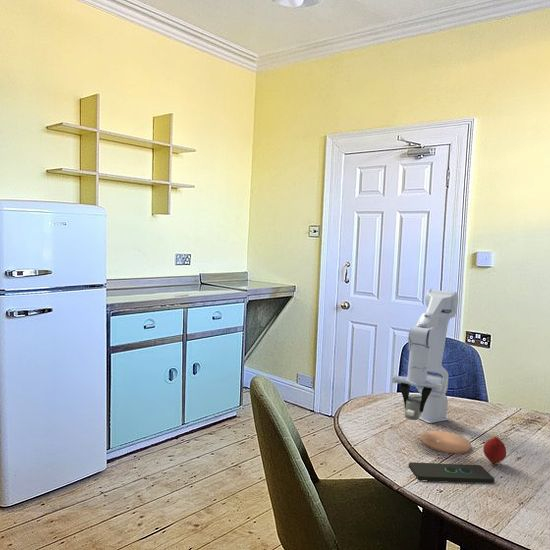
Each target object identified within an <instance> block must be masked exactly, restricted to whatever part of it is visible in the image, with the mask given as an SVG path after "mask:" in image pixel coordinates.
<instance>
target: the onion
mask: <svg viewBox="0 0 550 550" xmlns="http://www.w3.org/2000/svg"><path fill="white" fill-rule="evenodd" d="M482 450H483V454H484V456H485V457H486V458H487V459H488V460H489V462H490V463H491V464H493V465H494V464H495V465H496V464H499V463H500V462H501V461H503V460H504V459H506V457H507V448H506V446H505V444H504V442H503V441H502V440H501V439H500V438H499V437H498V436H497V435H496V434H494V435H493V437H492V438H489V439H488V440H486V442H485V443H484V444H483V448H482Z"/></svg>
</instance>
